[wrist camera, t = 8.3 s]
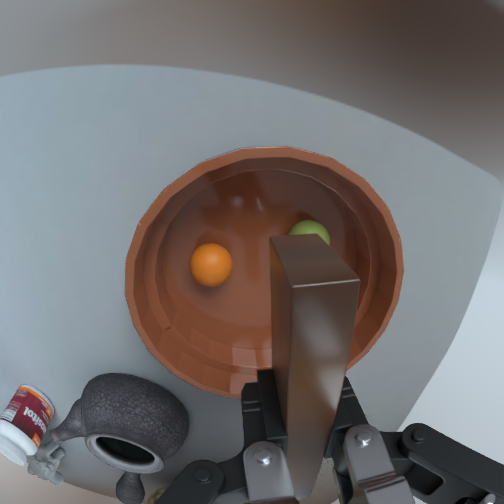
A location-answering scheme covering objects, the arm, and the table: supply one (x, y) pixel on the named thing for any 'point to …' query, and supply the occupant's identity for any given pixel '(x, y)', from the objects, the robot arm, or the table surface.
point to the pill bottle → (24, 424)
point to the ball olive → (310, 229)
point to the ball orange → (211, 264)
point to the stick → (309, 345)
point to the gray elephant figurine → (47, 462)
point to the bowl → (252, 259)
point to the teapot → (127, 427)
